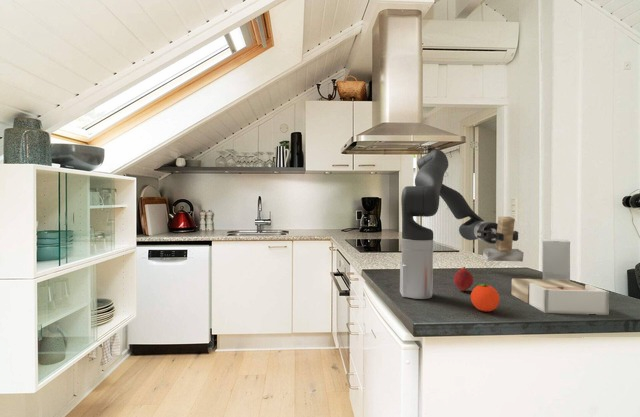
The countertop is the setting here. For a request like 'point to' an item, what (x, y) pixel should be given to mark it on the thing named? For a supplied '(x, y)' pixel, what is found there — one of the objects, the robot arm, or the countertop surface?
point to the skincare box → (556, 259)
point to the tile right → (572, 288)
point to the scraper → (504, 243)
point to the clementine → (485, 297)
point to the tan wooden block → (522, 285)
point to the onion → (463, 279)
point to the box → (570, 300)
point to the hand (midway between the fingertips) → (509, 237)
